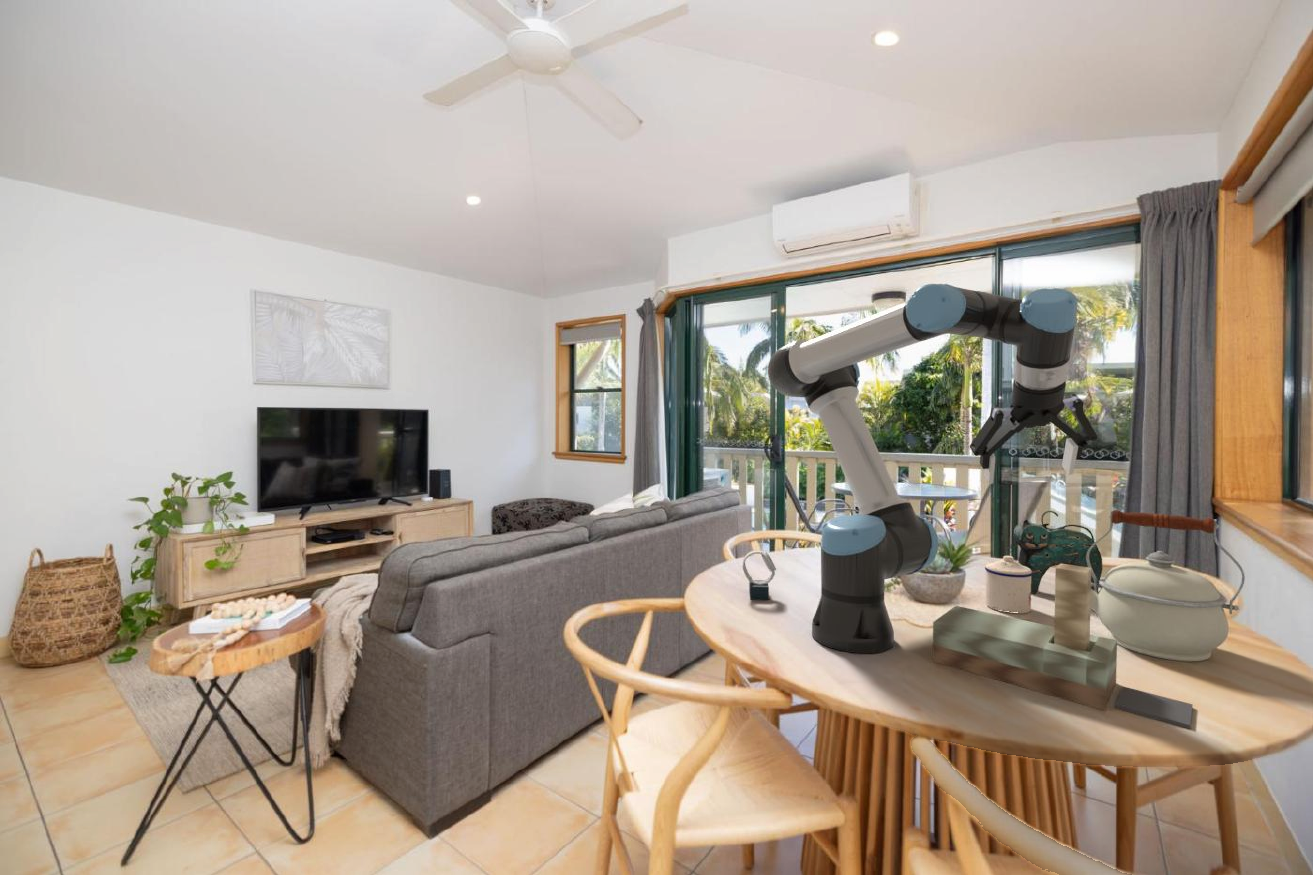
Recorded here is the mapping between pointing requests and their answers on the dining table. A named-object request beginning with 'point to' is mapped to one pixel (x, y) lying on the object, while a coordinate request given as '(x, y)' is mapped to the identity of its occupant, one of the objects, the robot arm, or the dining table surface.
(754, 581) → the watch
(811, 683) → the dining table surface
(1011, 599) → the teacup with lid
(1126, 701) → the rubber mat
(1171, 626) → the kettle
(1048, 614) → the dining table surface
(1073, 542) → the ceramic cat
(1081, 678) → the green block with hole
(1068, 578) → the wooden block
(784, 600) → the dining table surface
